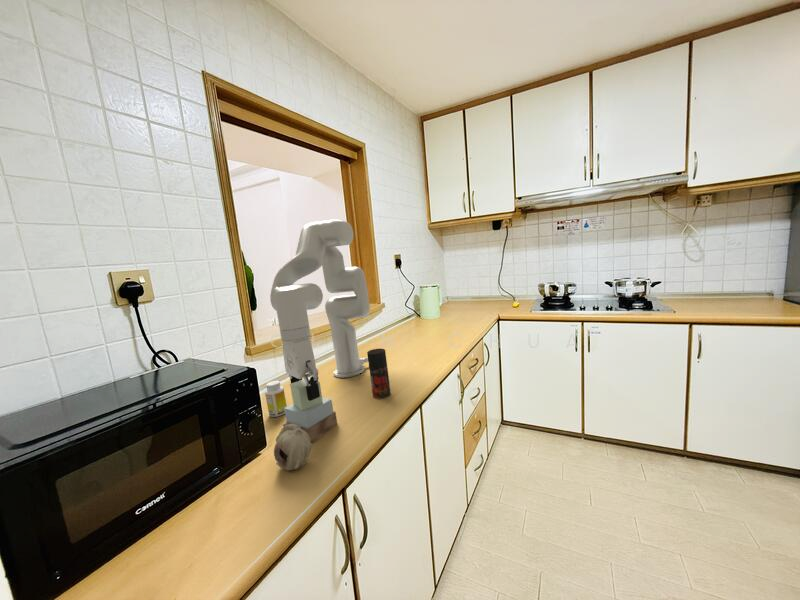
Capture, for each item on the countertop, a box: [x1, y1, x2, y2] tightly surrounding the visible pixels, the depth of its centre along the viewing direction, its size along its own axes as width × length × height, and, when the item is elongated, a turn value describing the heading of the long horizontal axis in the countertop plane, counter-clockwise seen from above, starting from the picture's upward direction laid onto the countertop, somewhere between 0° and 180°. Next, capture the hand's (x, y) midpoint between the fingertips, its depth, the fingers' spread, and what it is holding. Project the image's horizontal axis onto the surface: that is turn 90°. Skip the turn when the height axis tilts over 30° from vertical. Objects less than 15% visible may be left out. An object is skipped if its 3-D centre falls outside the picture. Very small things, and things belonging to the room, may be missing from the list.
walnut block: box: [282, 410, 338, 444], centre depth 90 cm, size 10×10×4 cm
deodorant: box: [366, 348, 392, 400], centre depth 107 cm, size 6×6×15 cm
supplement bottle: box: [264, 380, 288, 418], centre depth 103 cm, size 6×6×10 cm
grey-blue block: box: [284, 396, 334, 429], centre depth 90 cm, size 9×9×4 cm
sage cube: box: [289, 376, 323, 411], centre depth 90 cm, size 6×6×6 cm
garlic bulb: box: [273, 424, 312, 472], centre depth 75 cm, size 9×8×10 cm
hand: (305, 394), depth 89 cm, fingers open, 9 cm apart
